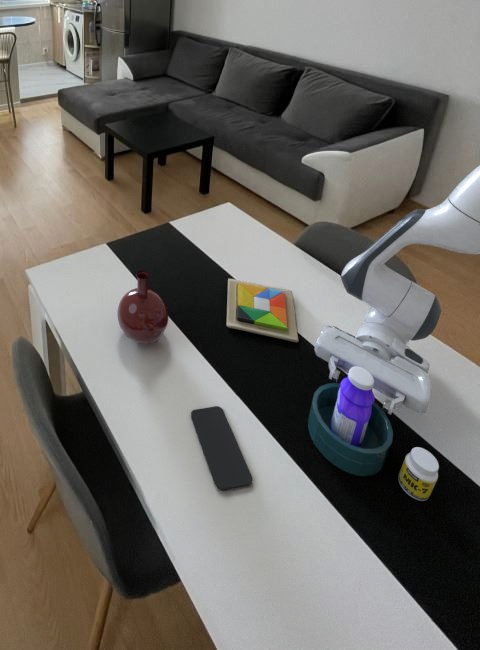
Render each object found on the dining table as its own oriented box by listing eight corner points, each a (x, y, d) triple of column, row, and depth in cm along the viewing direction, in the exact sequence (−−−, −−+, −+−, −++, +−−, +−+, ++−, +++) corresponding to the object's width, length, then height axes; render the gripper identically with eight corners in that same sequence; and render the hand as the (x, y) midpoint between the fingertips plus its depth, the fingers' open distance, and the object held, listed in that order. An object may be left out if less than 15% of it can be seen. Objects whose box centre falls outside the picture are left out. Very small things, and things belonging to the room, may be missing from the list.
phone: (221, 405, 94) (255, 482, 81) (221, 407, 95) (254, 485, 81) (189, 410, 94) (217, 489, 80) (188, 412, 94) (217, 492, 80)
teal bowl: (397, 446, 86) (405, 423, 83) (364, 493, 79) (372, 470, 76) (328, 393, 96) (334, 371, 94) (294, 430, 90) (299, 408, 87)
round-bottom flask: (144, 365, 105) (144, 303, 98) (107, 332, 115) (105, 273, 107) (178, 334, 113) (180, 275, 105) (141, 306, 122) (141, 250, 115)
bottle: (330, 412, 92) (344, 354, 85) (361, 426, 89) (378, 367, 82) (328, 444, 86) (343, 384, 80) (361, 459, 83) (379, 399, 77)
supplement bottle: (395, 486, 80) (405, 458, 77) (400, 466, 83) (411, 438, 80) (427, 508, 76) (439, 480, 73) (431, 486, 79) (443, 458, 76)
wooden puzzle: (226, 330, 113) (227, 321, 112) (227, 280, 130) (228, 271, 128) (298, 346, 108) (300, 336, 106) (290, 292, 124) (292, 283, 123)
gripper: (328, 312, 99) (306, 350, 91) (439, 367, 85) (426, 419, 77) (324, 332, 102) (301, 371, 93) (431, 389, 88) (417, 441, 79)
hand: (359, 393), depth 85 cm, fingers open, 8 cm apart
